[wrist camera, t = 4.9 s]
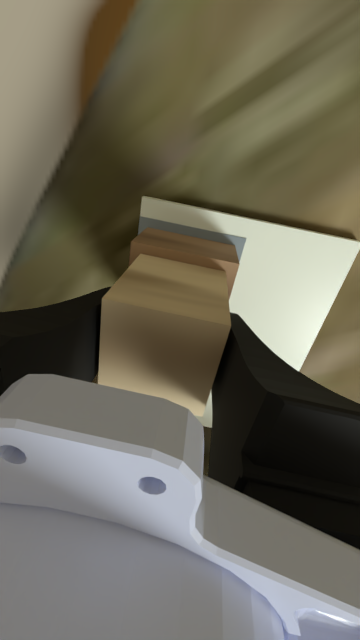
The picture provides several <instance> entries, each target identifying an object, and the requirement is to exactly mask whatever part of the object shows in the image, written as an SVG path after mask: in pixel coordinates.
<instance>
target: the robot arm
mask: <svg viewBox="0 0 360 640" xmlns="http://www.w3.org/2000/svg"><path fill="white" fill-rule="evenodd" d="M110 288H111V287H107V288H104V289H101V290H98V291H95V292H92V293H89V294H86V295H83V296H80V297H77V298H74V299H71V300H67V301H64V302H61V303H57V304H53V305H49V306H44V307H39V308H33V309H26V310H18V311H9V312H0V640H360V404H358V403H356V402H354V401H352V400H350V399H347V398H345V397H343V396H341V395H339V394H337V393H335V392H333V391H331V390H329V389H327V388H325V387H323V386H322V385H320V384H318V383H316V382H315V381H313V380H311V379H309V378H308V377H306V376H305V375H303V374H302V373H300V372H299V371H297V370H296V369H294V368H293V367H291V366H290V365H289V364H287V363H286V362H285V361H284V360H282V359H281V358H280V357H279V356H277V355H276V354H275V353H274V352H273V351H272V350H271V349H270V348H268V347H267V346H266V345H265V344H264V343H263V342H262V341H261V340H260V339H259V337H258V336H257V335H256V334H255V333H254V332H253V331H252V330H251V329H250V327H249V326H248V325H247V324H246V323H245V321H244V320H243V319H242V318H241V317H240V316H239V315H238V314H236V313H231V312H230V319H231V328H230V331H229V334H228V338H227V341H226V344H225V347H224V350H223V353H222V357H221V360H220V363H219V366H218V369H217V372H216V376H215V379H214V382H213V385H212V388H211V394H212V433H211V448H210V460H209V472H208V477H207V476H205V475H203V462H204V431H203V425H202V424H201V423H200V422H199V420H198V419H197V418H196V417H195V416H194V415H193V413H192V412H191V411H190V410H189V409H187V408H185V407H183V406H181V405H178V404H176V403H174V402H171V401H169V400H167V399H164V398H160V397H155V396H151V395H146V394H141V393H137V392H132V391H128V390H123V389H119V388H114V387H109V386H105V385H100V384H96V383H91V382H92V381H93V379H94V377H95V376H96V374H97V373H98V371H99V350H100V328H101V306H102V298H103V296H104V295H105V294H106V293H107V292H108V291H109V290H110Z"/></svg>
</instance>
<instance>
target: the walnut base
mask: <svg viewBox="0 0 360 640" xmlns="http://www.w3.org/2000/svg"><path fill="white" fill-rule="evenodd" d="M140 254H145V255H149V256H154V257H159V258H163V259H168V260H173V261H178V262H182V263H187V264H192V265H197V266H201V267H206V268H211V269H215V270H220V271H225V272H226V277H227V288H228V298H229V299H230V295H231V292H232V288H233V285H234V282H235V278H236V275H237V271H238V268H239V265H240V264H239V260H238V255H237V251H236V247H235V245H230V244H225V243H221V242H216V241H211V240H206V239H202V238H197V237H192V236H187V235H183V234H178V233H173V232H168V231H163V230H159V229H154V228H149V227H147V228H146V229H145V230H144V231H142V232H141V233H140V234H139V235H138V236H137V237H135V238H134V239H133V240H132V241H131V246H130V257H129V266H130V265H131V264H132V263H133V262H134V261H135V259H136V258H137V257H138V256H139V255H140Z"/></svg>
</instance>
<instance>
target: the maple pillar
mask: <svg viewBox="0 0 360 640" xmlns="http://www.w3.org/2000/svg"><path fill="white" fill-rule="evenodd" d="M230 328H231V319H230V309H229V298H228V288H227V277H226V272H225V271H220V270H215V269H211V268H206V267H201V266H197V265H192V264H187V263H182V262H178V261H173V260H168V259H163V258H159V257H154V256H149V255H145V254H140V255H139V256H138V257H137V258H136V259H135V261H134V262H133V263H132V264H131V265H130V266H129V267H128V269H127V270H126V271H125V272H124V273H123V274H122V276H121V277H120V278H119V279H118V280H117V281H116V283H115V284H114V285H113V286H112V287H111V288H110V290H109V291H108V292H107V293H106V294H105V295H104V296H103V298H102V306H101V328H100V350H99V371H98V384H100V385H105V386H109V387H114V388H119V389H123V390H128V391H132V392H137V393H141V394H146V395H151V396H155V397H160V398H164V399H167V400H169V401H171V402H174V403H176V404H178V405H181V406H183V407H185V408H187V409H189V410H190V411H191V412H192V413H193V415H196V416H201V417H203V414H204V410H205V407H206V404H207V401H208V398H209V395H210V391H211V388H212V385H213V382H214V379H215V376H216V372H217V369H218V366H219V363H220V360H221V357H222V353H223V350H224V347H225V344H226V341H227V338H228V334H229V331H230Z"/></svg>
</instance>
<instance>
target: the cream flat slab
mask: <svg viewBox="0 0 360 640" xmlns="http://www.w3.org/2000/svg"><path fill="white" fill-rule="evenodd" d="M147 227H149V228H154V229H159V230H163V231H168V232H173V233H178V234H183V235H187V236H192V237H197V238H202V239H206V240H211V241H216V242H221V243H225V244H230V245H235V247H236V251H237V255H238V260H239V264H240V265H239V268H238V271H237V275H236V278H235V282H234V285H233V288H232V292H231V295H230V299H229V309H230V312H231V313H236V314H238V315H239V316H240V317H241V318H242V319H243V320H244V321H245V323H246V324H247V325H248V326H249V327H250V329H251V330H252V331H253V332H254V333H255V334H256V335H257V336H258V337H259V339H260V340H261V341H262V342H263V343H264V344H265V345H266V346H267V347H268V348H270V349H271V350H272V351H273V352H274V353H275V354H276V355H277V356H279V357H280V358H281V359H282V360H284V361H285V362H286V363H287V364H289V365H290V366H291V367H293V368H294V369H296V370H297V371H299V370H300V368H301V366H302V364H303V362H304V360H305V358H306V356H307V354H308V352H309V350H310V348H311V346H312V344H313V342H314V340H315V338H316V336H317V334H318V332H319V330H320V328H321V326H322V324H323V322H324V320H325V318H326V316H327V314H328V312H329V310H330V308H331V306H332V304H333V302H334V300H335V298H336V296H337V294H338V292H339V290H340V288H341V286H342V284H343V281H344V279H345V277H346V275H347V273H348V271H349V269H350V267H351V265H352V263H353V261H354V259H355V257H356V255H357V253H358V251H359V249H360V241H358V240H354V239H349V238H345V237H340V236H335V235H330V234H325V233H321V232H316V231H311V230H306V229H301V228H297V227H292V226H287V225H282V224H277V223H273V222H268V221H263V220H258V219H253V218H249V217H244V216H239V215H234V214H229V213H225V212H220V211H215V210H210V209H206V208H201V207H196V206H191V205H186V204H182V203H177V202H172V201H167V200H162V199H158V198H153V197H148V196H143V197H142V202H141V211H140V219H139V229H138V235H139V234H140V233H141V232H142V231H144V230H145V229H146V228H147ZM194 416H195V417H196V418H197V419H198V420H199V422H200V423H201V424H202V425H203V426H205V427H210V428H212V394H211V391H210V395H209V398H208V401H207V404H206V407H205V410H204V414H203V417H201V416H196V415H194Z"/></svg>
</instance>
